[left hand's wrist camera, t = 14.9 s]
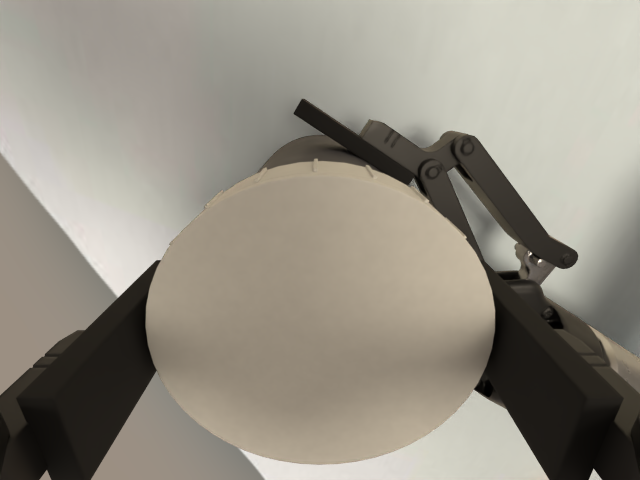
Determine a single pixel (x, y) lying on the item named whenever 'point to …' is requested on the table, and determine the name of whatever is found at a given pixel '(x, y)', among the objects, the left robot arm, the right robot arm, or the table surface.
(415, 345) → the lid
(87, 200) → the table surface
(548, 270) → the right robot arm
